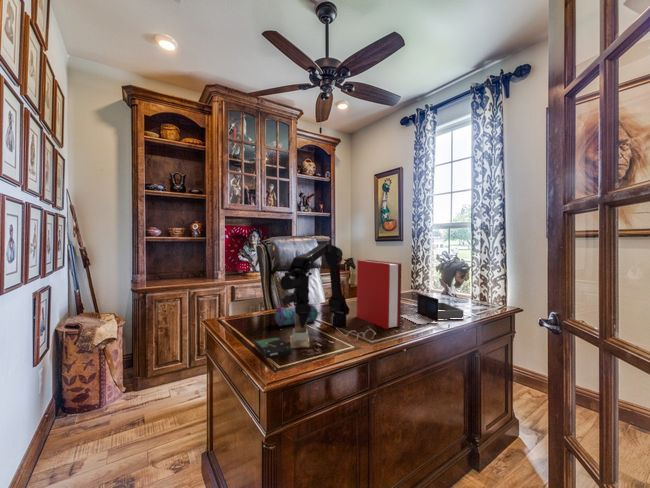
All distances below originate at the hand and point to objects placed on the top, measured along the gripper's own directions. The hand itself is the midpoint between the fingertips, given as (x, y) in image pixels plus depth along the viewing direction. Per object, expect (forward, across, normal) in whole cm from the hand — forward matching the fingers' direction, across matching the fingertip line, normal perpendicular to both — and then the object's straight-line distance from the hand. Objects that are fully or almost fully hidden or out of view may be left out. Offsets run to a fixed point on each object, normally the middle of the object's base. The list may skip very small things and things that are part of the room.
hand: (301, 324), depth 123 cm
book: (+8, -29, +42) cm, 52 cm away
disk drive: (+9, +5, -12) cm, 15 cm away
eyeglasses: (+9, -10, +25) cm, 28 cm away
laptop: (+9, -30, +66) cm, 73 cm away
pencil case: (+8, -30, 0) cm, 31 cm away
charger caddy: (+8, -38, +83) cm, 92 cm away
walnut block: (+3, 0, 0) cm, 3 cm away
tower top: (+6, 0, 0) cm, 6 cm away
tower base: (+9, 0, -1) cm, 9 cm away
